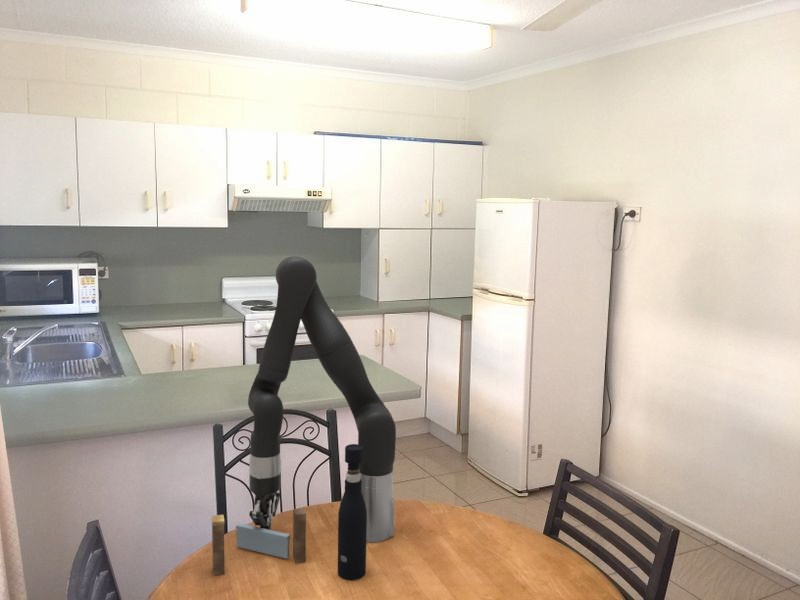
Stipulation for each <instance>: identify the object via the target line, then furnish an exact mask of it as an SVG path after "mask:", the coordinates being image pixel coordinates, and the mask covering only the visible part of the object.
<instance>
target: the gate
mask: <svg viewBox="0 0 800 600" xmlns="http://www.w3.org/2000/svg"><path fill="white" fill-rule="evenodd" d="M235 529H236V547H237V548H242V549H244V550H249V551H252V552H258V553H263V554H267V555H271V556H275V557H278V558H283V559H287V560H288V559H289V558H290V538H291V534H289V533H286V532H281V531H276V530H272V529H271V530H268V529H264V528H260V526H256V525H255V526H254V525H250V524H245V523H241V522H239V523H237V524H236V525H235Z"/></svg>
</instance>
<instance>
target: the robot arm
mask: <svg viewBox="0 0 800 600" xmlns="http://www.w3.org/2000/svg"><path fill="white" fill-rule="evenodd" d="M316 271H317V270H316V269H315V267H314V265H313V264H312V263H311V262H310V261H309V260H307V258H303V257H301V256H295V255H294V256H288V257H286V258H284V259H282V260H281V261H280V263H279V264H278V265H277V268H276V270H275V280H276V283H277V287H278V288H277V299H276V304H275V305H276V306H275V312H274V316H273V319H272V322H271V325H270V328H269V330H268V332H267V336H266V338H265V342H264V346H263V349H262V353H261V357H260V358H261V359H260V361H259V366H258V371H257V373H256V376H255V377H254V380H253V382H252V385H251V388H250V390H249V394H248V400H247V405H248V408H249V410H250V412H251V413H252V414H253V430H252V432H251V434H250V440H249V441H250V445H249V446H250V454H249V455H250V458H249V469H248V470H249V477H248V478H249V480H248V481H249V490H250V492H251V493H253V494H254V495H255V497H254V501H253V504H254V508H253V510H250V511H249V515H248V516H249V517H250V519H251V520H252V522H253V524H254V525H255V526H257V527H259V528H264V529H268V530H272V522H273V518H275V516H276V513H277V509H278V506H279V502H280V498H281V492H279V491H280V490H281V488H282V458H281V431H282V425H283V420H284V405H283V401H282V399H281V398H280V397H279V391H280V387H281V384H282V383H283V382H285V381H286V379H287V378H288V374H289V371H290V368H291V364H292V363H291V362H292V359H293V355H294V350H295V346H296V342H297V341H296V340H297V338H298V337H297V336H298V333H299V332H298V331H299V327H300V323H301V322H302V325H303V327H304V330H305V332H306V335H307V338H308V339H309V342H310V344H311V346H312V348H313V351H314V353H315V355H316V357H317V359H318V361H319V362H320V365H321V366H322V368H323V370H324V372H325V373H326V374H327V376H328V377H329V378H330V379H331V381H332V382H333V384H334V386H336V387H337V388H338V390H339V391H340V392H341V394H342V395H343V398H345V400H346V403H347V404H348V407H349V409H350V411H351V414H352V417H353V419H354V422H355V425H356V429H357V433H358V434H357V439H358V440H357V442H358V443H357V444H358V445H361V446H362V447H363V454H362V462H361V463H359V471H360V473H361V478H360V479H361V480H362V495H363V498H364V501H365V505H366V510H367V536H366V543H369V542H370V543H378V542H383V541H387V540H388V539H389V538H391V537H394V536H395V512H396V509H395V507H396V506H395V505H396V501H395V499H394V498H393V487H394V486H393V483H394V481H393V480H394V464H395V459H396V444H397V443H396V438H397V428H396V423H395V420H394V418H393V416H392V413H391V412H390V411H389V409H388V408H387V406H386V405H385V404H384V402H383V401H382V399H381V398H380V397H379V395H378V394H377V392H376V390H375V389H374V387H373V386H372V384H371V382H370V380H369V377H368V374H367V371H366V369H365V366H364V363H363V361H362V358H361V355H360V354H359V352H358V349H357V348H356V346H355V344H354V342H353V340H352V339H351V337H350V335H349V333H348V331H347V330H346V328H345V327H344V325H343V323H342V322H341V321H340V319H339V318H338V317H337V316H336V313H334V312H333V310H332V309H331V308H330V306H329V305H328V302H327V301H326V300H325V298H324V295H323V294H322V290H321V289H320V285H319V283H318V282H317V278H318V277H317V272H316Z"/></svg>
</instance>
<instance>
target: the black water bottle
mask: <svg viewBox="0 0 800 600" xmlns="http://www.w3.org/2000/svg"><path fill="white" fill-rule="evenodd" d="M362 454H363V447H362V446H361V445H358V443H350V444H347V445H346V446H345V447H344V462H345V463H346V464H347V471H346V473H345V480H344V493H343V495H342V498H341V501H340V505H339V508H338V517H337V519H338V522H337V576H338V577H339V578H341V579H342V580H345V581H357V580H360V579H362V578H363V577H365V575H366V572H367V541H366V536H367V510H366V505H365V501H364V498H363V495H362V480H361V479H360V478H361V473H360V471H359V463H361V462H362Z"/></svg>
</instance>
